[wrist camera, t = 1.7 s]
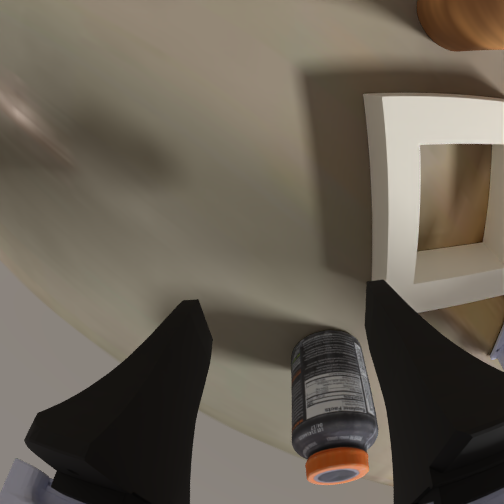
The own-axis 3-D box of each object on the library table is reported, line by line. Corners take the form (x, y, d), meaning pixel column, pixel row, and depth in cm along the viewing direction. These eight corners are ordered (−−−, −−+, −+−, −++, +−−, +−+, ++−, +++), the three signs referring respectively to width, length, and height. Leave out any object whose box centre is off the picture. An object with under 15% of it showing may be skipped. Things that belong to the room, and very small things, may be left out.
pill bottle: (331, 381, 27) (340, 493, 17) (277, 360, 26) (271, 484, 16) (375, 342, 24) (402, 465, 14) (319, 316, 23) (332, 456, 13)
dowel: (480, 55, 12) (568, 60, 6) (423, 48, 13) (506, 39, 6) (468, -7, 10) (548, -27, 3) (409, -18, 11) (479, -58, 4)
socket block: (493, 266, 20) (514, 292, 17) (371, 286, 21) (383, 318, 18) (509, 99, 13) (541, 107, 10) (362, 93, 15) (381, 96, 12)
